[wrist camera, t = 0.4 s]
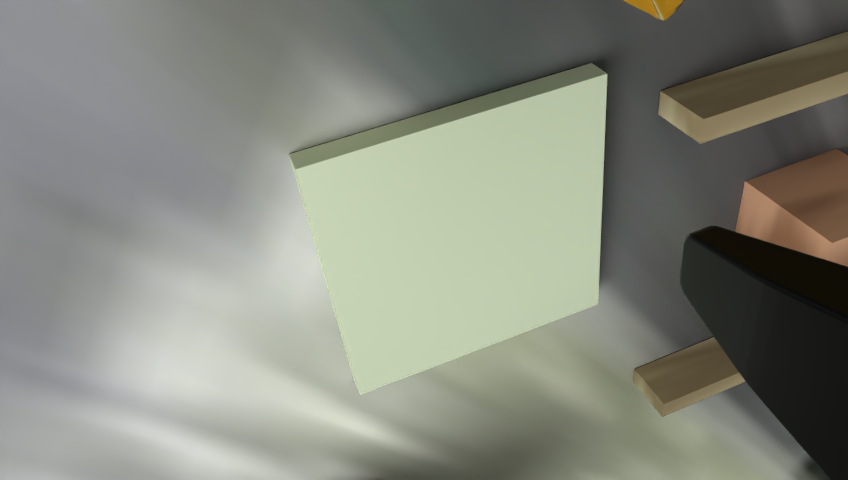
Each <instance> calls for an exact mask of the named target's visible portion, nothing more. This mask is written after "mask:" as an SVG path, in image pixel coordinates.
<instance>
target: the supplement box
mask: <svg viewBox="0 0 848 480" xmlns="http://www.w3.org/2000/svg"><path fill="white" fill-rule="evenodd" d="M623 1H625V2H627V3H629V4H631V5H633V6H635V7H637V8H639V9H641V10H643V11H645V12H647V13H649V14H651V15H652V16H654V17H656V18H657V19H661V20H666V19H667V18H669V17H670V16H671V15H672V14H673V13H674V12H675V11H676V10H677V9H678V8H679V7H680V5H681V4H682V3H683V2H684V1H685V0H623Z"/></svg>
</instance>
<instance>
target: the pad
mask: <svg viewBox="0 0 848 480" xmlns="http://www.w3.org/2000/svg"><path fill="white" fill-rule="evenodd" d="M606 95H607V73H606V72H604V71H603V70H601V69H600V68H598V67H597V66H595V65H594V64H593V63H590V64H586V65H583V66H580V67H577V68H573V69H570V70H567V71H563V72H560V73H557V74H553V75H550V76H547V77H543V78H540V79H537V80H533V81H530V82H527V83H523V84H520V85H517V86H514V87H510V88H507V89H504V90H500V91H497V92H494V93H490V94H487V95H484V96H480V97H477V98H474V99H470V100H467V101H464V102H461V103H457V104H454V105H451V106H447V107H444V108H441V109H437V110H434V111H431V112H427V113H424V114H421V115H417V116H414V117H411V118H407V119H404V120H401V121H398V122H394V123H391V124H388V125H384V126H381V127H378V128H374V129H371V130H368V131H364V132H361V133H358V134H354V135H351V136H348V137H345V138H341V139H338V140H335V141H331V142H328V143H325V144H321V145H318V146H315V147H311V148H308V149H305V150H301V151H298V152H295V153H292V154H289V157H290V161H291V164H292V168H293V171H294V174H295V178H296V181H297V185H298V188H299V192H300V195H301V199H302V202H303V206H304V209H305V213H306V216H307V219H308V223H309V226H310V230H311V233H312V237H313V240H314V244H315V247H316V251H317V254H318V258H319V261H320V264H321V268H322V271H323V275H324V278H325V282H326V285H327V289H328V292H329V296H330V299H331V303H332V306H333V309H334V313H335V316H336V320H337V323H338V327H339V330H340V334H341V337H342V341H343V344H344V348H345V351H346V354H347V358H348V361H349V365H350V368H351V372H352V375H353V378H354V381H355V383H356V386H357V388H358V391H359V393H360V395H361V394H364V393H366V392H369V391H372V390H374V389H377V388H380V387H382V386H385V385H387V384H390V383H393V382H395V381H398V380H401V379H403V378H406V377H408V376H411V375H414V374H416V373H419V372H422V371H424V370H427V369H429V368H432V367H435V366H437V365H440V364H443V363H445V362H448V361H450V360H453V359H456V358H458V357H461V356H464V355H466V354H469V353H471V352H474V351H477V350H479V349H482V348H485V347H487V346H490V345H492V344H495V343H498V342H500V341H503V340H506V339H508V338H511V337H513V336H516V335H519V334H521V333H524V332H527V331H529V330H532V329H534V328H537V327H540V326H542V325H545V324H548V323H550V322H553V321H555V320H558V319H561V318H563V317H566V316H569V315H571V314H574V313H576V312H579V311H582V310H584V309H587V308H590V307H592V306H595V305H597V304H598V293H599V268H600V244H601V219H602V194H603V169H604V145H605V120H606Z"/></svg>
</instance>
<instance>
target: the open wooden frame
mask: <svg viewBox="0 0 848 480" xmlns="http://www.w3.org/2000/svg"><path fill="white" fill-rule="evenodd" d="M845 94H848V31H847V32H844V33H841V34H838V35H835V36H832V37H828V38H825V39H822V40H819V41H816V42H813V43H810V44H806V45H803V46H800V47H797V48H794V49H791V50H788V51H784V52H781V53H778V54H775V55H772V56H769V57H766V58H762V59H759V60H756V61H753V62H750V63H747V64H744V65H740V66H737V67H734V68H731V69H728V70H725V71H722V72H718V73H715V74H712V75H709V76H706V77H703V78H700V79H696V80H693V81H690V82H687V83H684V84H681V85H677V86H674V87H671V88H668V89H665V90H662V91H660V102H659V112H658V114H659V115H660V116H662V117H663V118H664V119H666V120H667V121H669V122H670V123H671V124H673V125H674V126H676V127H677V128H679V129H680V130H681V131H683V132H684V133H686V134H687V135H689V136H690V137H691V138H693V139H694V140H696V141H697V142H699V143H700V144H701V143H704V142H707V141H710V140H713V139H716V138H718V137H721V136H724V135H727V134H730V133H733V132H736V131H739V130H742V129H745V128H748V127H751V126H754V125H757V124H760V123H763V122H766V121H769V120H771V119H774V118H777V117H780V116H783V115H786V114H789V113H792V112H795V111H798V110H801V109H804V108H807V107H810V106H813V105H816V104H819V103H821V102H824V101H827V100H830V99H833V98H836V97H839V96H842V95H845ZM633 382H634V383H635V384H636V385H637V387H638V388H639V389H640V390H641V392H642V393H643V394H644V395H645V396H646V398H647V399H648V400H649V401H650V403H651V404H652V405H653V406H654V407H655V409H656V410H657V411H658V412H659V414H660V415H661V416H662V417H663V416H665V415H668V414H670V413H673V412H675V411H677V410H680V409H682V408H684V407H687V406H689V405H691V404H694V403H696V402H698V401H701V400H703V399H705V398H708V397H710V396H712V395H715V394H717V393H719V392H722V391H724V390H726V389H729V388H731V387H733V386H736V385H738V384H741V383H743V382H745V380H744V379H743V377H742V376H741V375H740V373H739V372H738V371H737V369H736V368H735V367H734V365H733V364H732V362H731V361H730V359H729V358H728V357H727V355H726V354H725V352H724V351H723V349H722V348H721V346H720V345H719V344H718V342H717V341H716V339H715V338H714V337H712V338H710V339H708V340H705V341H703V342H700V343H698V344H695V345H693V346H690V347H688V348H685V349H683V350H681V351H678V352H676V353H673V354H671V355H668V356H666V357H663V358H661V359H658V360H656V361H653V362H651V363H649V364H646V365H644V366H641V367H639V368H636V369H635V370H634V381H633Z"/></svg>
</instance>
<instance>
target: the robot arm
mask: <svg viewBox="0 0 848 480" xmlns="http://www.w3.org/2000/svg"><path fill="white" fill-rule="evenodd" d="M680 285H681V288H682V290H683V293H684V294H685V296H686V298H687V299H688V300H689V302H690V303H691V305H692V306H693V308H694V309H695V310H696V312H697V313H698V315H699V316H700V318H701V319H702V321H703V322H704V323H705V325H706V326H707V328H708V329H709V331H710V332H711V334H712V335H713V336H714V338H715V339H716V341H717V342H718V344H719V345H720V346H721V348H722V349H723V351H724V352H725V354H726V355H727V357H728V358H729V359H730V361H731V362H732V364H733V365H734V367H735V368H736V369H737V371H738V372H739V373H740V375H741V376H742V377H743V379H744V380H745V381H746V382H747V384H748V385H749V386H750V387H751V388H752V390H753V391H754V392H755V393H756V394H757V396H758V397H759V398H760V399H761V400H762V401H763V403H764V404H765V405H766V406H767V407H768V408H769V410H770V411H771V412H772V413H773V414H774V415H775V416H776V418H777V419H778V420H779V421H780V422H781V423H782V425H783V426H784V427H785V428H786V429H787V430H788V432H789V433H790V434H791V435H792V436H793V437H794V438H795V440H796V441H797V442H798V443H799V444H800V445H801V447H802V448H803V449H804V450H805V451H806V452H807V453H808V455H809V456H810V457H811V458H812V459H813V460H814V462H815V463H816V464H817V465H818V466H819V467H820V469H821V470H822V471H823V472H824V473H825V474H826V475H827V477H828V478H829V479H830V480H848V267H847V266H844V265H841V264H838V263H834V262H831V261H828V260H825V259H822V258H818V257H815V256H812V255H809V254H805V253H802V252H799V251H796V250H792V249H789V248H786V247H783V246H780V245H776V244H773V243H770V242H767V241H763V240H760V239H757V238H754V237H750V236H747V235H744V234H741V233H738V232H734V231H731V230H728V229H725V228H721V227H717V226H709V227H706V228H703V229H701V230H698V231H695V232H693V233H690V234H689V235H687V236H686V238H685V239H684V242H683V248H682V258H681V267H680Z"/></svg>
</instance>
